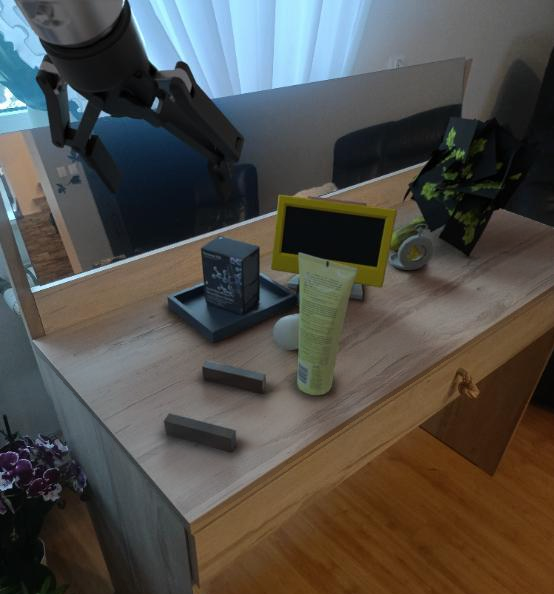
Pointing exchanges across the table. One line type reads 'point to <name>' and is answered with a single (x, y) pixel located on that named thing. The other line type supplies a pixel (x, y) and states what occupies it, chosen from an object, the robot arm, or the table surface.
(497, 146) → the potted plant
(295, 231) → the toy computer monitor
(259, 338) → the table surface
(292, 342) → the figurine
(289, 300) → the tray
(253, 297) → the box
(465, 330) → the table surface
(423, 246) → the pocket watch
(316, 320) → the tube
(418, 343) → the table surface
